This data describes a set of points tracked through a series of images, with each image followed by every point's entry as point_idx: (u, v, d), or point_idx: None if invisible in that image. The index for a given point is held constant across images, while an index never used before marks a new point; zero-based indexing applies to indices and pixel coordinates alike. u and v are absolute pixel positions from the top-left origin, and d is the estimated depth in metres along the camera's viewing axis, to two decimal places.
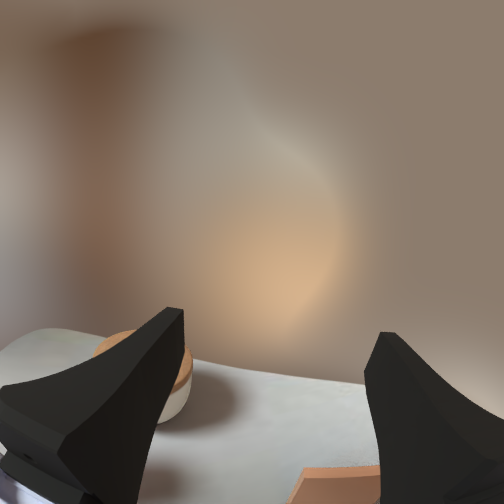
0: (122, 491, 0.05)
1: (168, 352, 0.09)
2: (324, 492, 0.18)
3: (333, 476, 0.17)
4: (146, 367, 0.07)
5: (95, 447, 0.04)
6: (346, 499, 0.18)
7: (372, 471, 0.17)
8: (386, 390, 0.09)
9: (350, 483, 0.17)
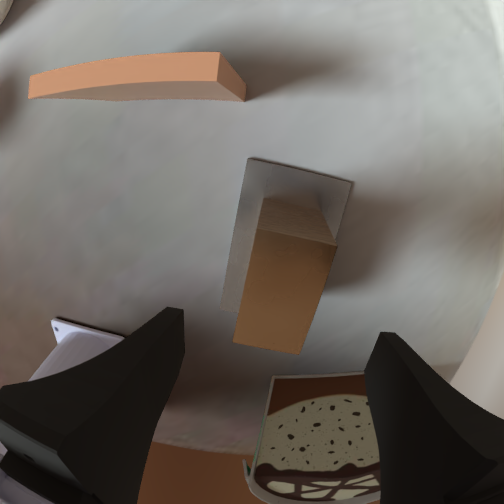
0: (122, 491, 0.05)
1: (168, 352, 0.09)
2: (102, 93, 0.11)
3: (65, 88, 0.08)
4: (146, 367, 0.07)
5: (95, 447, 0.04)
6: (165, 93, 0.12)
7: (141, 71, 0.08)
8: (386, 390, 0.09)
9: (117, 88, 0.09)
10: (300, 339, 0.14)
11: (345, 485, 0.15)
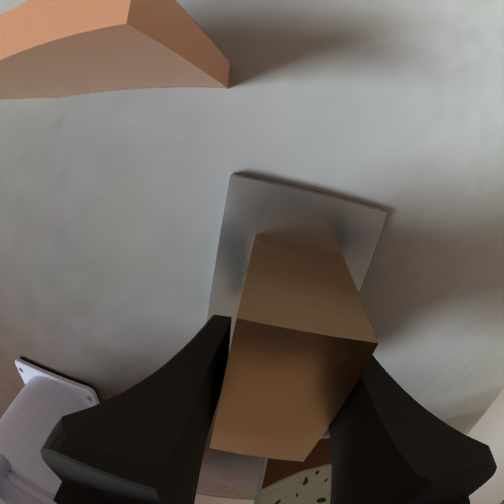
0: None
1: (221, 361, 0.09)
2: (3, 89, 0.05)
3: None
4: (207, 379, 0.07)
5: (177, 472, 0.04)
6: (96, 78, 0.07)
7: (5, 38, 0.03)
8: None
9: None
10: (306, 448, 0.09)
11: None
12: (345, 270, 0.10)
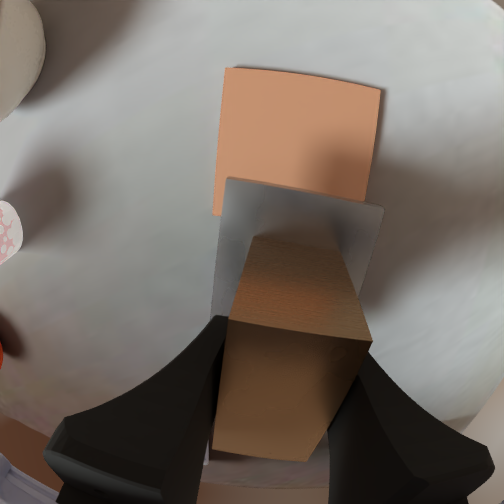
0: None
1: (222, 362, 0.09)
2: (264, 119, 0.14)
3: (268, 70, 0.14)
4: (210, 380, 0.07)
5: (180, 473, 0.04)
6: (309, 158, 0.15)
7: (331, 80, 0.14)
8: None
9: (300, 94, 0.14)
10: (307, 448, 0.09)
11: None
12: (343, 269, 0.10)
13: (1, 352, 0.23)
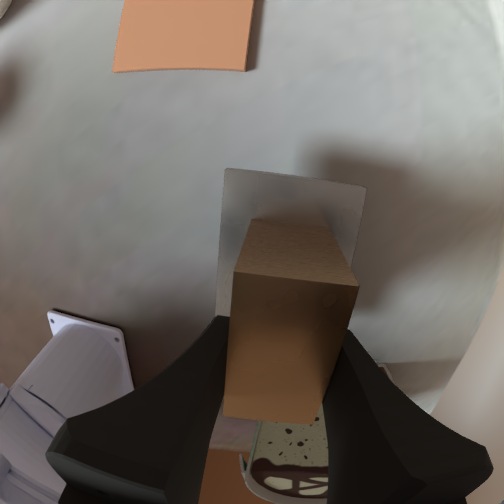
0: None
1: (224, 362, 0.09)
2: None
3: None
4: (212, 380, 0.07)
5: (183, 473, 0.04)
6: (193, 12, 0.13)
7: None
8: (335, 389, 0.09)
9: None
10: (313, 408, 0.10)
11: None
12: (332, 240, 0.12)
13: None
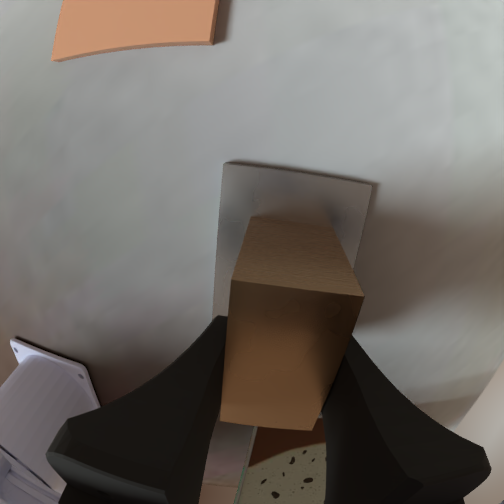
0: None
1: None
2: None
3: None
4: (212, 380, 0.07)
5: (184, 473, 0.04)
6: None
7: None
8: (333, 389, 0.09)
9: None
10: (312, 415, 0.09)
11: None
12: (335, 241, 0.11)
13: None
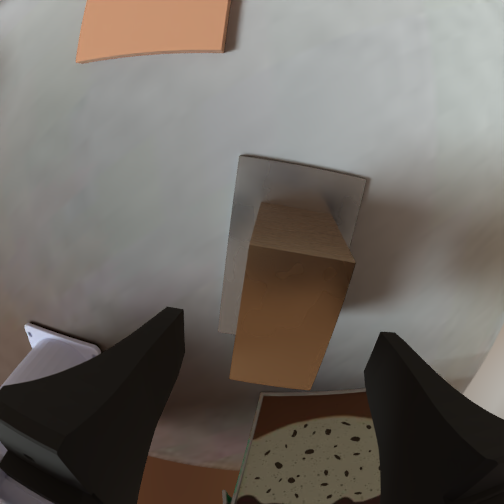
0: (122, 491, 0.05)
1: (168, 352, 0.09)
2: None
3: None
4: (146, 367, 0.07)
5: (95, 447, 0.04)
6: None
7: None
8: (386, 390, 0.09)
9: None
10: (311, 374, 0.11)
11: None
12: (333, 224, 0.13)
13: None
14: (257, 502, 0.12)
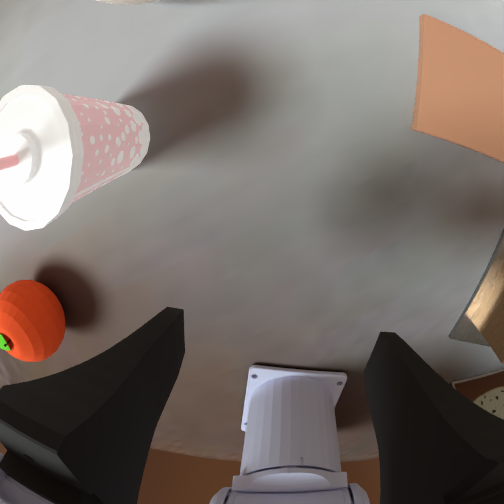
0: (122, 491, 0.05)
1: (168, 352, 0.09)
2: (453, 61, 0.13)
3: (452, 26, 0.12)
4: (146, 367, 0.07)
5: (95, 447, 0.04)
6: (481, 98, 0.13)
7: (486, 46, 0.12)
8: (386, 390, 0.09)
9: (473, 50, 0.12)
10: None
11: None
12: None
13: (64, 321, 0.22)
14: None
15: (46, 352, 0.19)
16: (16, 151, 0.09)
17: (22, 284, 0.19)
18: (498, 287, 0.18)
